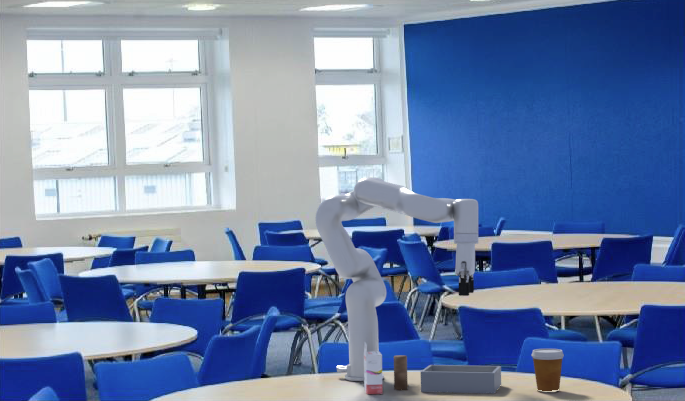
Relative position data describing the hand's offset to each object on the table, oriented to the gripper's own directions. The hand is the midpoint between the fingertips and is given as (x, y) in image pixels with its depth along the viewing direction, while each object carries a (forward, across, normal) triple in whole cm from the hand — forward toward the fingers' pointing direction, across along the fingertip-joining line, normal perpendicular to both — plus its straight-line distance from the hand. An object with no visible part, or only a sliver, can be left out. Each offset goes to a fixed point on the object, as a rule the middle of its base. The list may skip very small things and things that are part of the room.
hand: (466, 294), depth 377 cm
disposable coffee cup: (+27, +12, +26) cm, 40 cm away
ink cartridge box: (+28, +19, -25) cm, 42 cm away
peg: (+28, +13, -18) cm, 36 cm away
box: (+28, +11, 0) cm, 30 cm away
